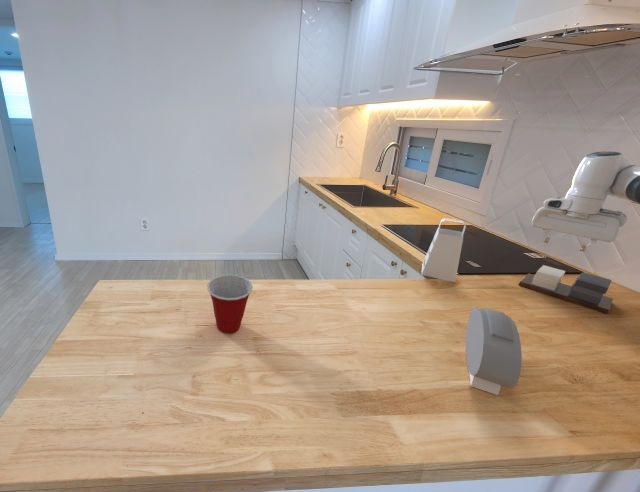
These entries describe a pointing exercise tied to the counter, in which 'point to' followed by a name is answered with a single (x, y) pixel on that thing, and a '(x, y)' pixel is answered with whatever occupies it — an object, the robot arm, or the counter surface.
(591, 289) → the grey stack
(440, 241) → the grater
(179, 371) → the counter surface
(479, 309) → the alarm clock
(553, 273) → the white book
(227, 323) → the plastic cup
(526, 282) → the shelf plank
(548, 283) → the white stack
